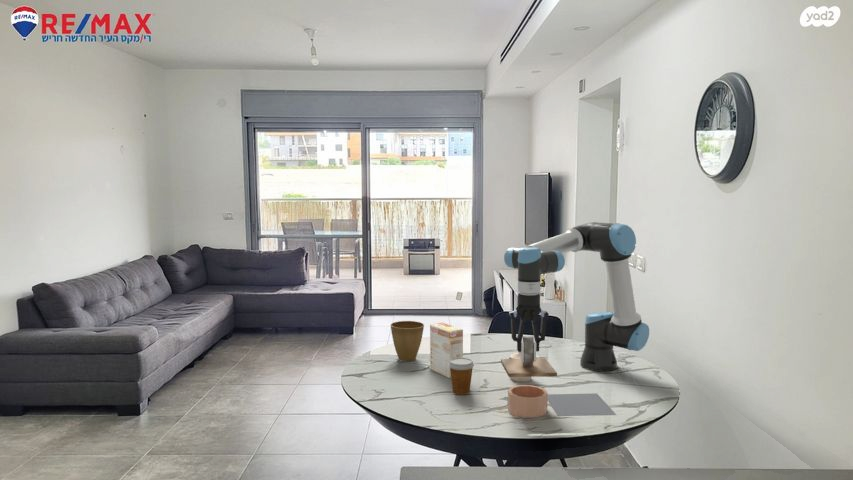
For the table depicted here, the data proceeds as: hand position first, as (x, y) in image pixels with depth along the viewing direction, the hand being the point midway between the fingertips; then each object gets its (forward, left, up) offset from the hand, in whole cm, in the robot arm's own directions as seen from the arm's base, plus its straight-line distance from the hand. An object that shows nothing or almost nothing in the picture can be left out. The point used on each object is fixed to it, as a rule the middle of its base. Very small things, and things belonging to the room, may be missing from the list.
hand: (527, 360), depth 200 cm
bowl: (0, 0, -18) cm, 18 cm away
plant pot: (+41, -62, -18) cm, 77 cm away
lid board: (0, 0, -3) cm, 3 cm away
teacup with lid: (-4, -35, -18) cm, 40 cm away
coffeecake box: (+25, -43, -18) cm, 53 cm away
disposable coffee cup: (+21, -20, -18) cm, 34 cm away
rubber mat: (-19, -4, -18) cm, 27 cm away
